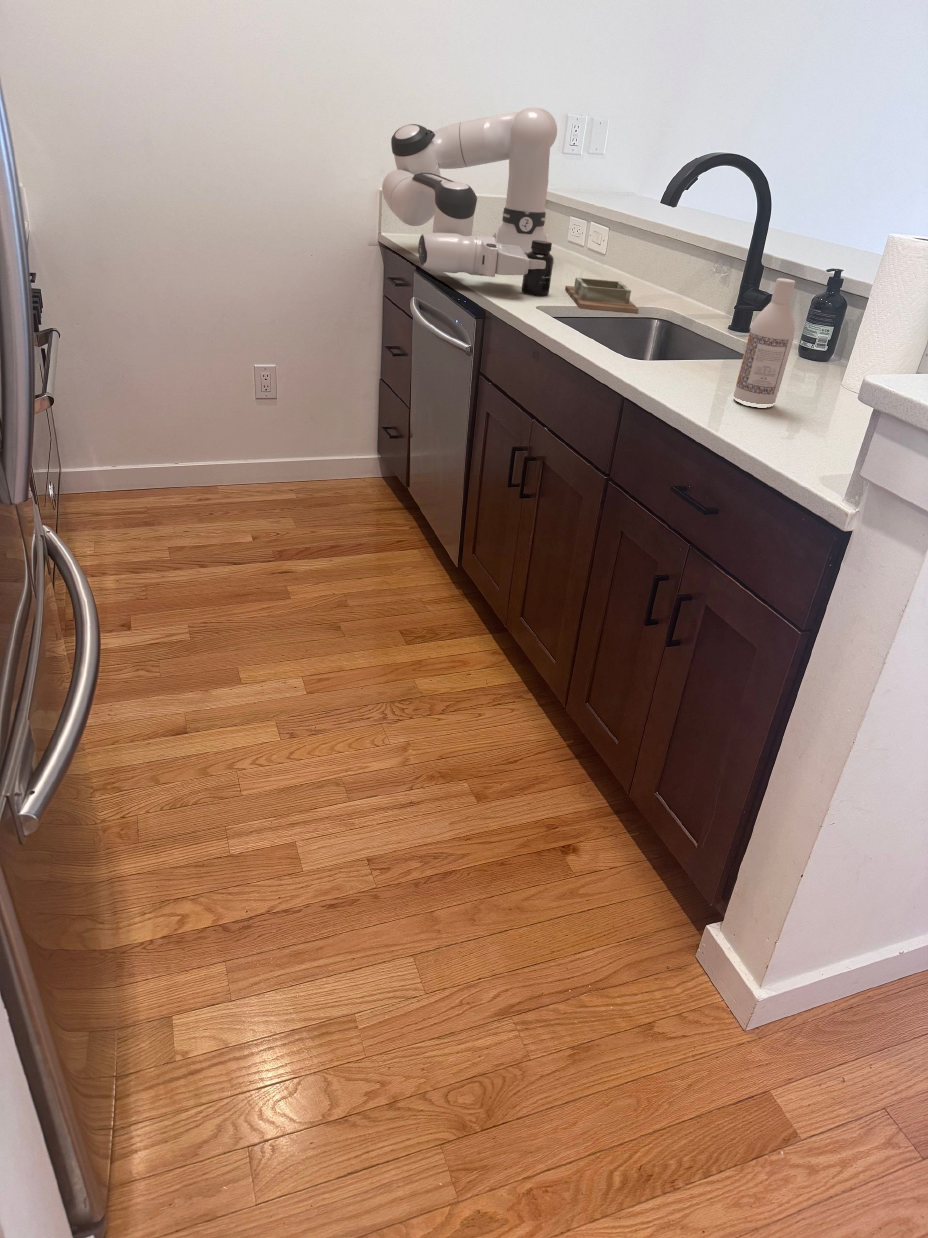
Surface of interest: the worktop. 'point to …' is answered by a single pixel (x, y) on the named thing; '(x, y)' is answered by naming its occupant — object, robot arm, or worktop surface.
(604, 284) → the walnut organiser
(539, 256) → the supplement bottle
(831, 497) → the worktop surface
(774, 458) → the worktop surface
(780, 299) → the bath foam
